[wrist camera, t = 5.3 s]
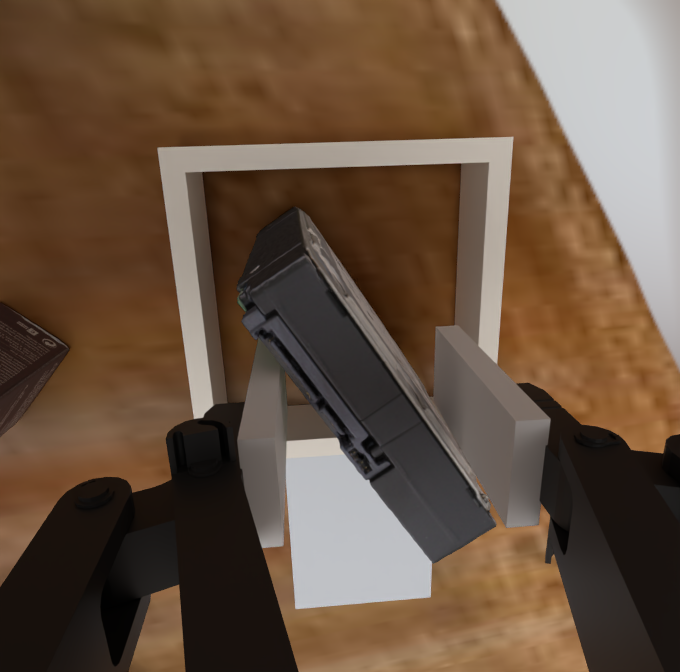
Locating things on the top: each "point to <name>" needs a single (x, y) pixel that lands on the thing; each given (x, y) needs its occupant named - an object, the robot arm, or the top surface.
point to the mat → (347, 539)
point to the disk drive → (360, 384)
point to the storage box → (189, 162)
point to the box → (23, 364)
